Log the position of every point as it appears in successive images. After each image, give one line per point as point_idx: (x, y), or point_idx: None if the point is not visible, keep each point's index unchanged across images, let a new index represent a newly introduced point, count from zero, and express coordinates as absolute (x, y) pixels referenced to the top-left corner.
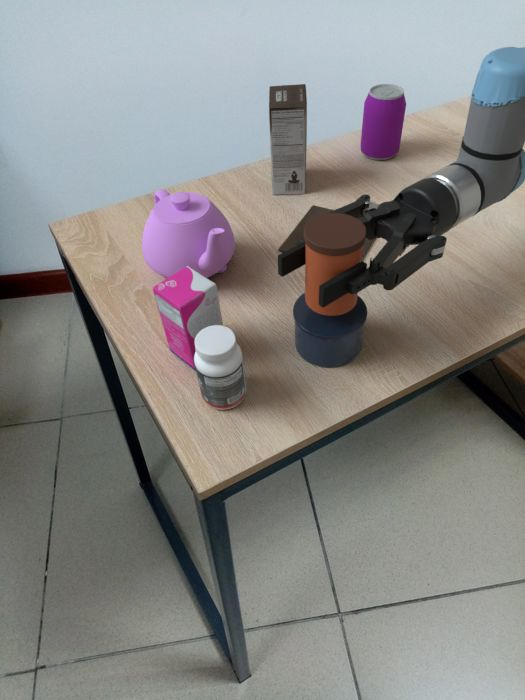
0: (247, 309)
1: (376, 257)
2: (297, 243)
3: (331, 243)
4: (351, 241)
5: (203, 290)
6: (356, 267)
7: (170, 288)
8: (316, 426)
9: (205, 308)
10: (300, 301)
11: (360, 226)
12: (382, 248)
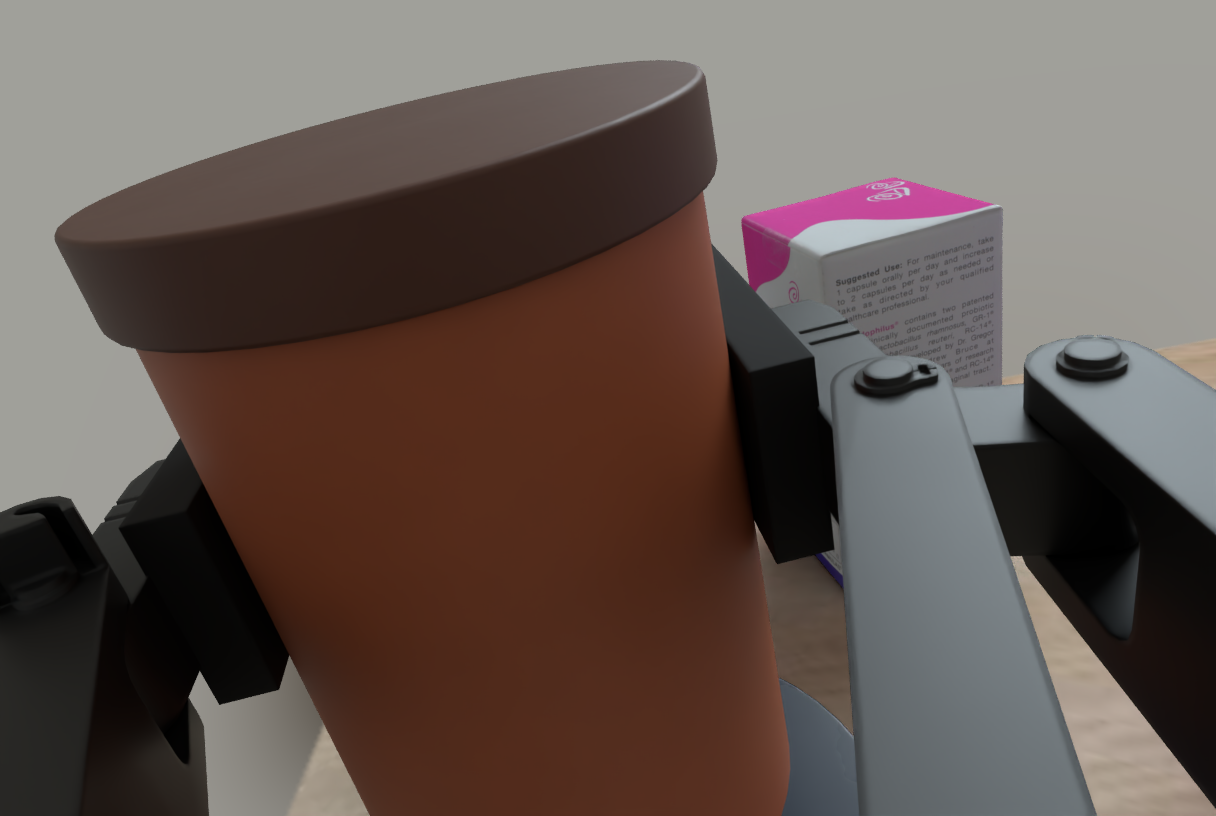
0: (1123, 721)
1: (82, 646)
2: (813, 308)
3: (287, 139)
4: (150, 191)
5: (795, 238)
6: (188, 462)
7: (860, 195)
8: (327, 752)
9: None
10: (792, 715)
11: (196, 220)
12: (74, 775)
